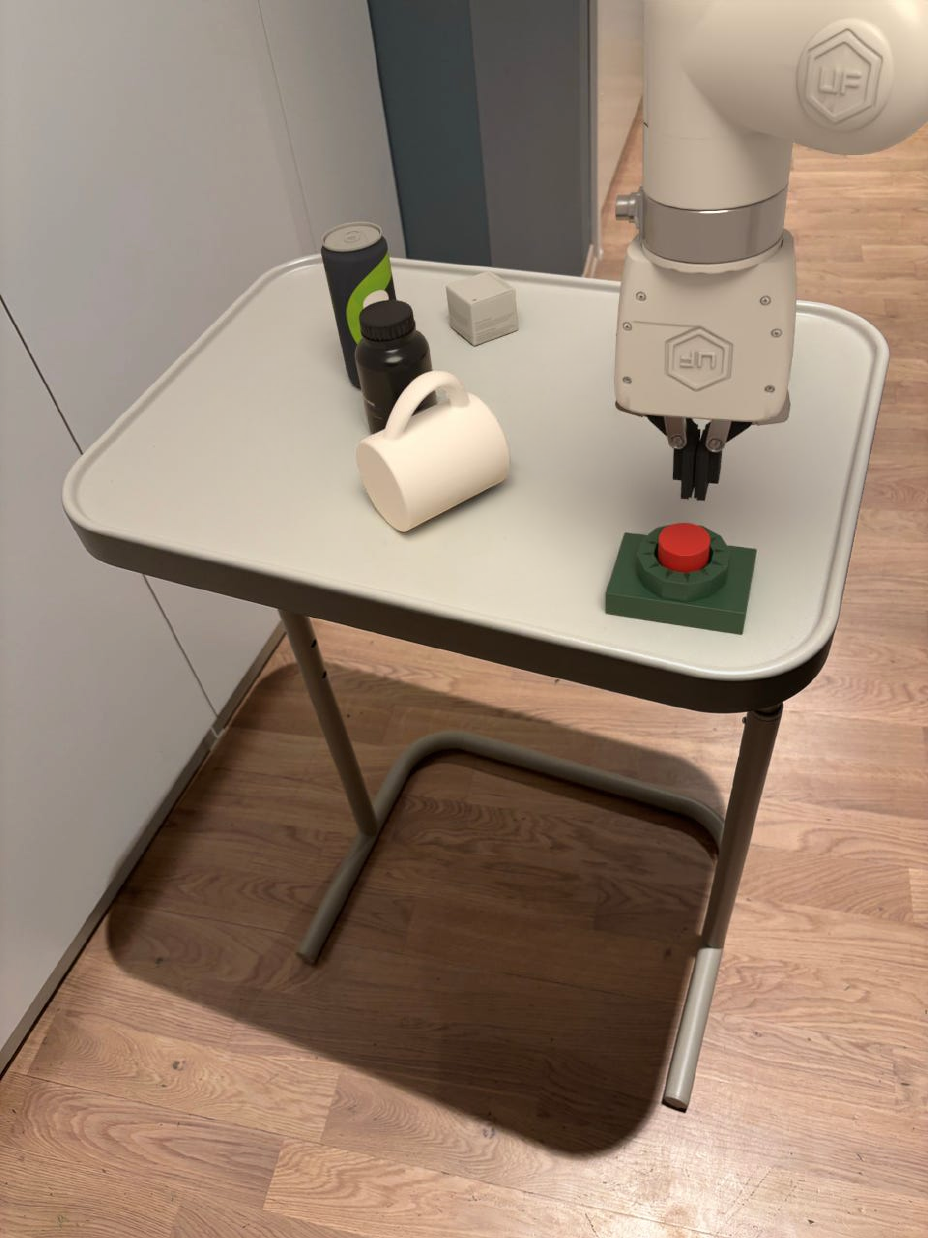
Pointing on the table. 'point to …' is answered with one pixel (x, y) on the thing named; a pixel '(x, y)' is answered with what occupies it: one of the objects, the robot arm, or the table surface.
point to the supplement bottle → (390, 359)
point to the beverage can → (355, 280)
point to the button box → (681, 585)
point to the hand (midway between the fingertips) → (695, 487)
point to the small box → (482, 307)
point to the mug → (432, 453)
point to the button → (684, 547)
